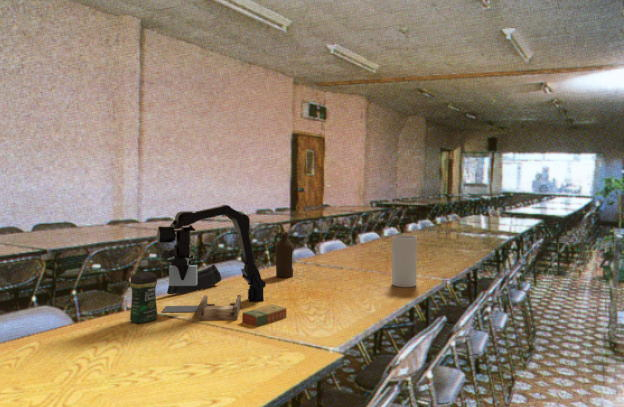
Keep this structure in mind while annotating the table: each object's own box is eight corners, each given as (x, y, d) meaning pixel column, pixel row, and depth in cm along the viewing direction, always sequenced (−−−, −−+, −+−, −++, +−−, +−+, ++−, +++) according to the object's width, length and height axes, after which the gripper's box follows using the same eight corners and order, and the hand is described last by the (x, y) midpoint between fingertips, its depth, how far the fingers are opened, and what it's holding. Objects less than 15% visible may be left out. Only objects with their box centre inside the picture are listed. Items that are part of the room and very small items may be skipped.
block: (197, 284, 198) (197, 265, 198) (196, 285, 195) (196, 266, 195) (170, 284, 198) (170, 265, 197) (169, 285, 195) (169, 266, 194)
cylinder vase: (389, 286, 241) (390, 237, 239) (394, 281, 252) (395, 234, 251) (414, 288, 236) (414, 239, 235) (418, 283, 248) (419, 236, 246)
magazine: (166, 278, 215) (215, 252, 237) (162, 277, 217) (210, 251, 239) (175, 311, 220) (222, 282, 242) (171, 310, 222) (218, 281, 244)
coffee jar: (140, 325, 176) (139, 276, 175) (126, 321, 180) (126, 273, 179) (161, 319, 184) (160, 271, 183) (148, 315, 188) (147, 269, 187)
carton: (286, 318, 187) (286, 307, 187) (256, 327, 175) (256, 316, 175) (272, 313, 192) (272, 303, 192) (241, 323, 180) (241, 312, 180)
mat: (204, 306, 202) (204, 305, 202) (200, 312, 193) (200, 311, 193) (166, 306, 201) (166, 306, 201) (161, 312, 192) (161, 312, 192)
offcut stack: (234, 313, 191) (234, 304, 191) (233, 318, 185) (233, 309, 185) (204, 314, 190) (204, 305, 190) (202, 318, 184) (202, 309, 184)
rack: (240, 306, 202) (240, 294, 202) (237, 319, 183) (237, 307, 183) (204, 307, 201) (204, 295, 201) (197, 320, 182) (197, 307, 182)
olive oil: (276, 278, 258) (276, 233, 256) (273, 274, 268) (273, 231, 267) (295, 277, 260) (295, 232, 259) (292, 274, 270) (292, 230, 269)
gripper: (168, 239, 204) (168, 274, 205) (158, 245, 186) (158, 284, 186) (194, 239, 205) (194, 274, 206) (186, 245, 187) (186, 284, 187)
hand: (183, 279), depth 196 cm, fingers closed on block, 3 cm apart
